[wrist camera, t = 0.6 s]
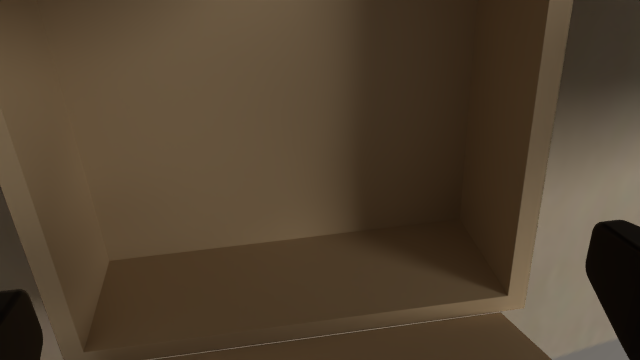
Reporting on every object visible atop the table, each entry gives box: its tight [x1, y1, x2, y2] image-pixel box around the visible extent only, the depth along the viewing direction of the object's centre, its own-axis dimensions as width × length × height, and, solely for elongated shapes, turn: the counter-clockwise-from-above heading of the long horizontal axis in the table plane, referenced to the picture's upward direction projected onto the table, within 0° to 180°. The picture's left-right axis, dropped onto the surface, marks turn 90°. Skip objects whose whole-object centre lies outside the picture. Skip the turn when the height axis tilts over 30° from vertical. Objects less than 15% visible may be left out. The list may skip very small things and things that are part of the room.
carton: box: [0, 0, 573, 360], centre depth 17 cm, size 14×14×5 cm
